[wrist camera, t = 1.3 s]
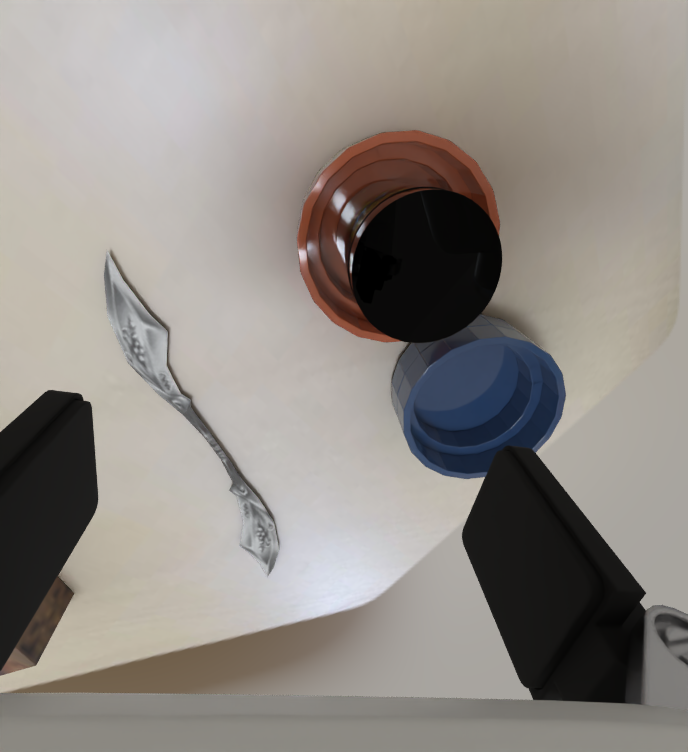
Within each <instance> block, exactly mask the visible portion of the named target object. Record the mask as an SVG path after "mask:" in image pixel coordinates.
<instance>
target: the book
mask: <svg viewBox="0 0 688 752" xmlns="http://www.w3.org/2000/svg"><path fill="white" fill-rule="evenodd" d="M73 595H74V593H73V592H72V591H71V590H70V589H69V588H68V587H67V586H66V585H65V584H64V583H63V582H62V581H61V580H60V579H59V578H58V577H57V578H56V580H55V581H54V583H53V585H52V586H51V588H50V590H49V591H48V593H47V595H46V596H45V598H44V600H43V601H42V603H41V605H40V606H39V608H38V610H37V611H36V613H35V615H34V617H33V618H32V620H31V622H30V623H29V625H28V627H27V628H26V630H25V632H24V633H23V635H22V637H21V638H20V640H19V642H18V643H17V645H16V647H15V648H14V650H13V652H12V654H11V655H10V657H9V659H8V660H7V662H6V664H5V665H4V667H3V668H2V670H1V671H0V676H1V675H4V674H8V673H11V672H15V671H18V670H22V669H25V668H29V667H32V666H36V665H37V663H38V661H39V659H40V657H41V655H42V653H43V651H44V649H45V648H46V646H47V644H48V642H49V640H50V638H51V636H52V634H53V632H54V631H55V629H56V627H57V625H58V623H59V621H60V619H61V617H62V615H63V614H64V612H65V610H66V608H67V606H68V604H69V602H70V600H71V598H72V596H73Z"/></svg>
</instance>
